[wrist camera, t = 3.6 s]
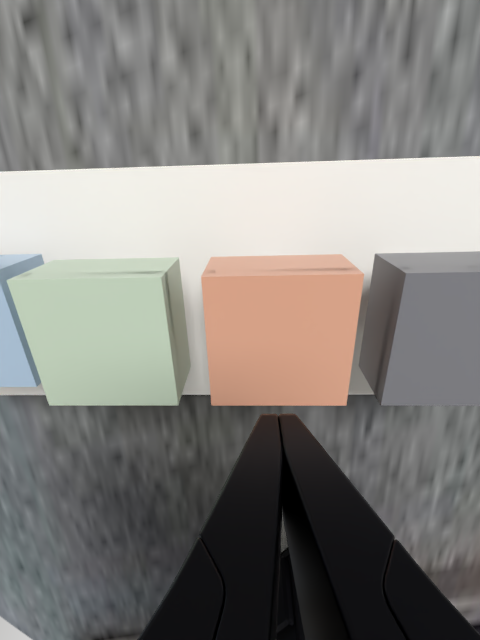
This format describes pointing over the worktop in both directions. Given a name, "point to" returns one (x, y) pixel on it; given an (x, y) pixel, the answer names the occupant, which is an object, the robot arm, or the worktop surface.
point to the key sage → (106, 330)
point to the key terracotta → (280, 329)
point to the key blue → (15, 326)
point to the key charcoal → (423, 329)
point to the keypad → (243, 221)
